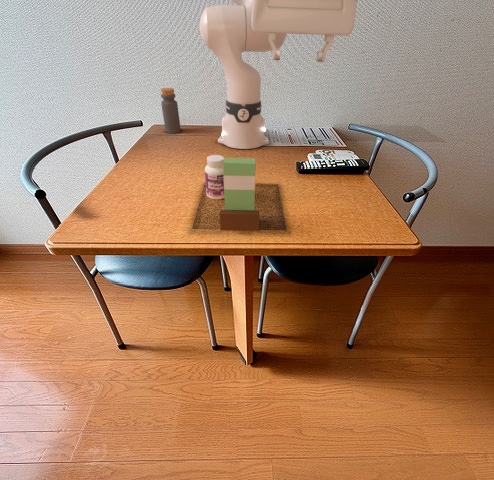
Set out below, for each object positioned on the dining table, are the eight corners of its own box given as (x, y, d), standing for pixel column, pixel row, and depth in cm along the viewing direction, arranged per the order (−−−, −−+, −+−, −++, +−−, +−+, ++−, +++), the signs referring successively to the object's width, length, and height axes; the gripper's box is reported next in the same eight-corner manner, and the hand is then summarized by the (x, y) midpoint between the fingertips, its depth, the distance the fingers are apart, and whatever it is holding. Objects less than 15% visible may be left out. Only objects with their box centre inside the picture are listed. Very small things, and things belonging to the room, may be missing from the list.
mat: (204, 184, 78) (203, 168, 75) (278, 185, 78) (279, 169, 75) (191, 232, 60) (189, 213, 57) (286, 233, 61) (289, 214, 58)
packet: (226, 219, 63) (223, 157, 55) (253, 219, 63) (255, 158, 55) (225, 225, 61) (222, 162, 53) (253, 226, 61) (255, 163, 53)
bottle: (181, 132, 112) (175, 90, 103) (165, 133, 111) (159, 90, 101) (180, 128, 116) (175, 87, 107) (165, 129, 115) (158, 87, 106)
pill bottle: (208, 201, 69) (205, 163, 63) (205, 191, 73) (202, 154, 67) (230, 199, 70) (229, 161, 64) (226, 189, 74) (224, 152, 68)
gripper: (358, -24, 55) (342, 60, 63) (252, -29, 54) (250, 57, 63) (369, -28, 50) (350, 64, 58) (252, -34, 49) (250, 60, 58)
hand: (298, 60), depth 61 cm, fingers open, 8 cm apart
